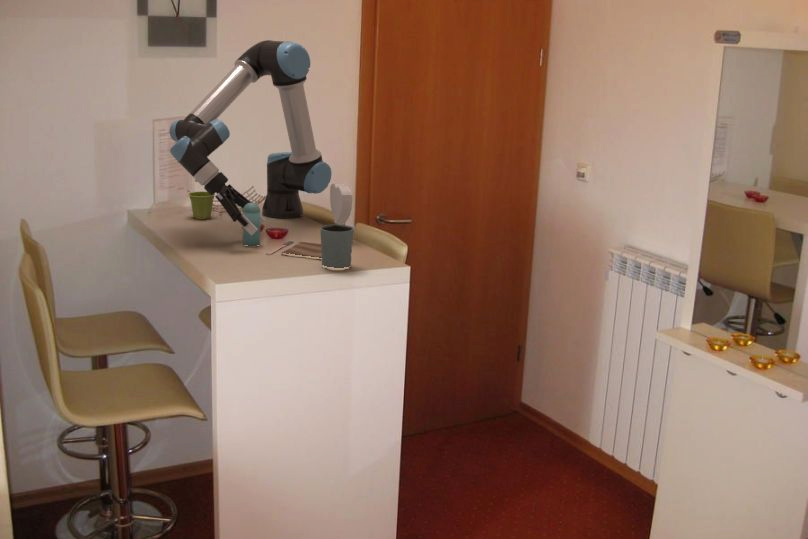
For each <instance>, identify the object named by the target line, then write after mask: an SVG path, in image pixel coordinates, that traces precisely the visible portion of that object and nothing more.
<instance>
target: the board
mask: <svg viewBox="0 0 808 539" xmlns="http://www.w3.org/2000/svg"><path fill="white" fill-rule="evenodd" d="M321 246H322V245H321V243H314V242H306V241H300V242H299V243H296V244H295V245H293V246H291V247H290V248H288V249H286V250H284V251H281V253H286V254H289V253H290V254H295V255H302V256H311V257H319V258H322V250H321Z"/></svg>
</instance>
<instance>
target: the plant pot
mask: <svg viewBox="0 0 808 539" xmlns="http://www.w3.org/2000/svg"><path fill="white" fill-rule="evenodd" d="M187 195H188V196H189V200H190V204H191V211H192V216H193V218H195V219H196V220H205V219H211V217H212V210H213V205H214V204H213V202H214V199H215V196H216V193H215V194H213V195H210V194H209V193H208V192H207V191H193V192H189V193H188V194H187Z"/></svg>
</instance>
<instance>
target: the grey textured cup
mask: <svg viewBox="0 0 808 539" xmlns="http://www.w3.org/2000/svg"><path fill="white" fill-rule="evenodd" d="M319 230H320V232H319V233H320V244H321V245H322V246H321V250H322V260H321V266H322V265H324V266H327V267H334V268H344V267H349V266H351V265H352V253H353V252H352V251H353V244H354V243H353V242H354V236H355V228H354V227H353V226H350V225H346V224H343V225H337V224H325V225H322V226H320V228H319ZM351 267H352V266H351Z"/></svg>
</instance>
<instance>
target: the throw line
mask: <svg viewBox="0 0 808 539" xmlns="http://www.w3.org/2000/svg"><path fill="white" fill-rule="evenodd" d="M290 243H291V244H293V243H294V241H293V240H289V241H287V242H285V243H283V244H282V245H288V244H290ZM291 244H290V245H291ZM288 246H289V245H288Z"/></svg>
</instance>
